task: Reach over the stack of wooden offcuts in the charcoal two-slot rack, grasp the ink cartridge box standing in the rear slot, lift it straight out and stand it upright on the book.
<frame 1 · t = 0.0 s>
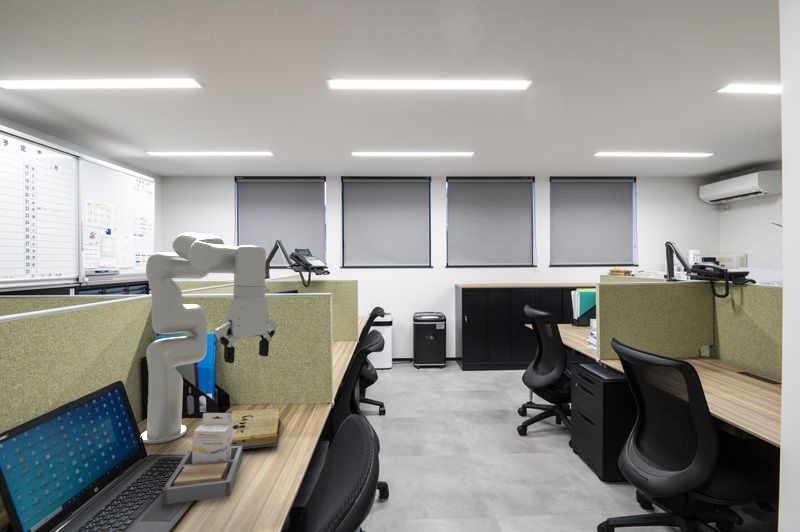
hand: (247, 358, 93), 31 cm above the table, tool pointing down, fingers open, 9 cm apart
rack: (206, 481, 92), on the table
ink cartridge box: (211, 471, 97), on the table
offcut bottom: (202, 493, 88), on the table, touching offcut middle
offcut top: (202, 479, 88), point 3 cm above the table, touching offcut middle
book: (252, 439, 117), on the table
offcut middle: (202, 486, 88), point 1 cm above the table, touching offcut bottom, offcut top
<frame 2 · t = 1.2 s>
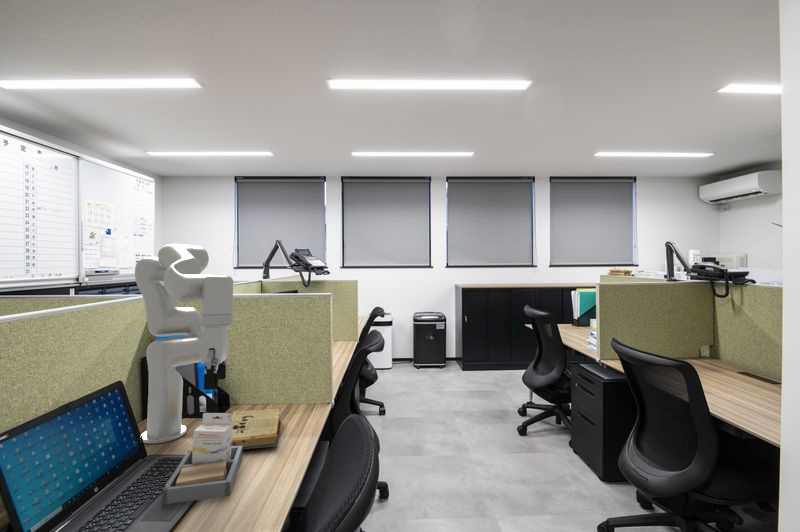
hand: (215, 383, 97), 23 cm above the table, tool pointing down, fingers open, 9 cm apart
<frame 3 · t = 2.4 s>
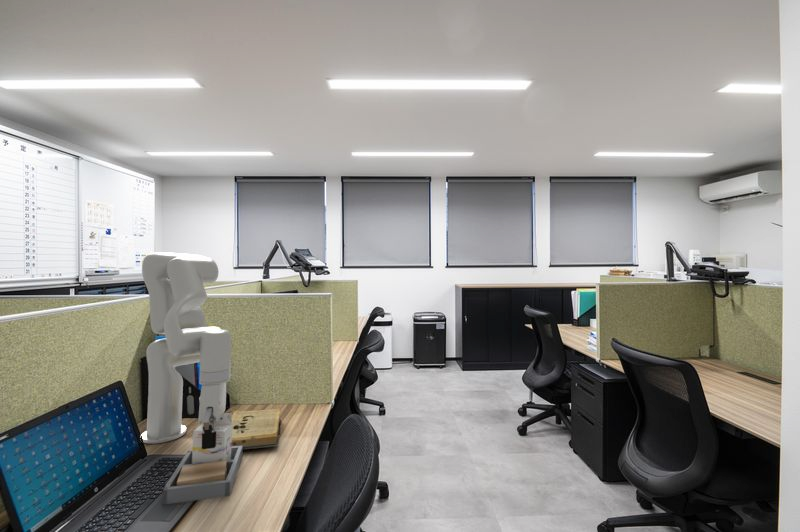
hand: (213, 440, 97), 8 cm above the table, tool pointing down, fingers open, 9 cm apart
nothing on the table moved.
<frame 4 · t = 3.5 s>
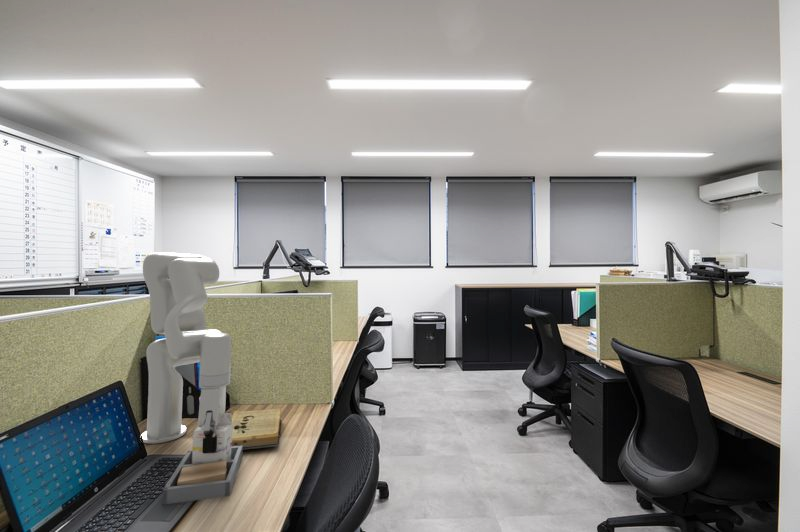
hand: (212, 446, 97), 7 cm above the table, tool pointing down, fingers closed on ink cartridge box, 5 cm apart
ink cartridge box: (211, 471, 97), on the table, touching gripper
everything else where it was.
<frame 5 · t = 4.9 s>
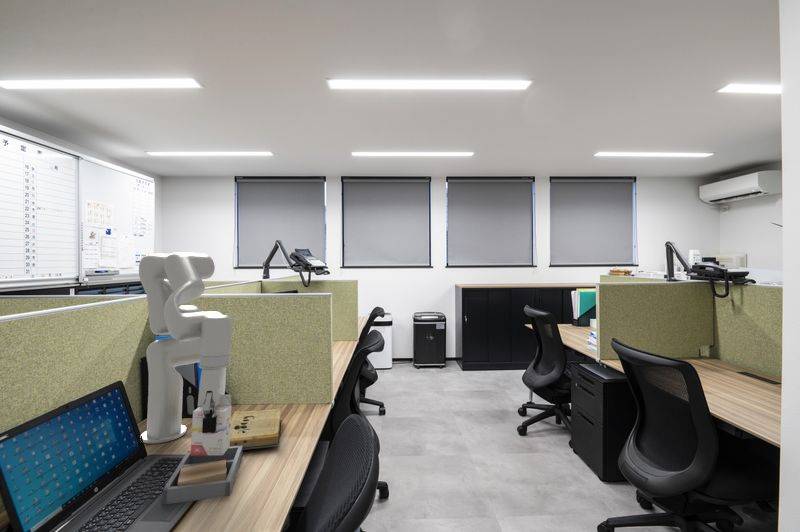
hand: (211, 426, 97), 12 cm above the table, tool pointing down, fingers closed on ink cartridge box, 5 cm apart
ink cartridge box: (210, 452, 97), point 5 cm above the table, touching gripper
offcut top: (202, 477, 88), point 3 cm above the table
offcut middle: (202, 485, 88), point 1 cm above the table, touching offcut bottom
everything else where it was.
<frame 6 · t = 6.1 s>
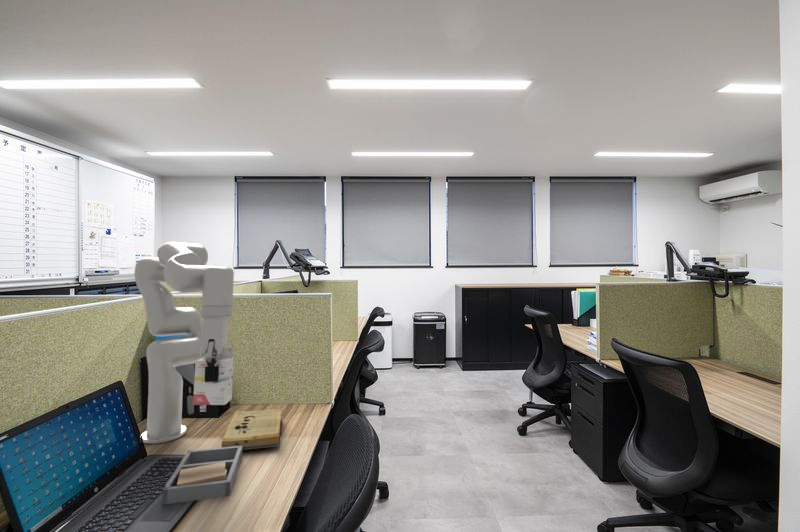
hand: (214, 377, 98), 25 cm above the table, tool pointing down, fingers closed on ink cartridge box, 5 cm apart
ink cartridge box: (212, 403, 97), point 18 cm above the table, touching gripper
offcut top: (202, 479, 88), point 3 cm above the table, touching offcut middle
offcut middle: (203, 487, 88), point 1 cm above the table, touching offcut bottom, offcut top
everything else where it was.
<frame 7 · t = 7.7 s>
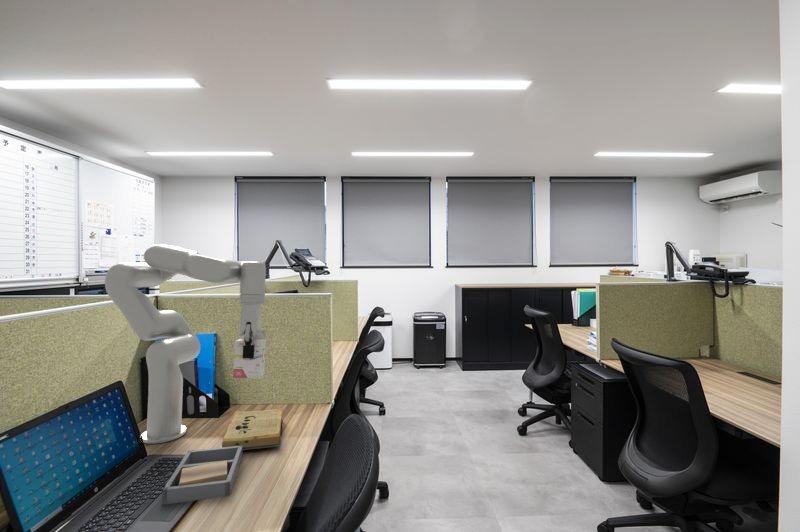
hand: (250, 355, 115), 27 cm above the table, tool pointing down, fingers closed on ink cartridge box, 5 cm apart
ink cartridge box: (249, 377, 114), point 20 cm above the table, touching gripper
when the fingers open (14 cm above the table, at t = 11.4 s): ink cartridge box drops 2 cm, resting on book.
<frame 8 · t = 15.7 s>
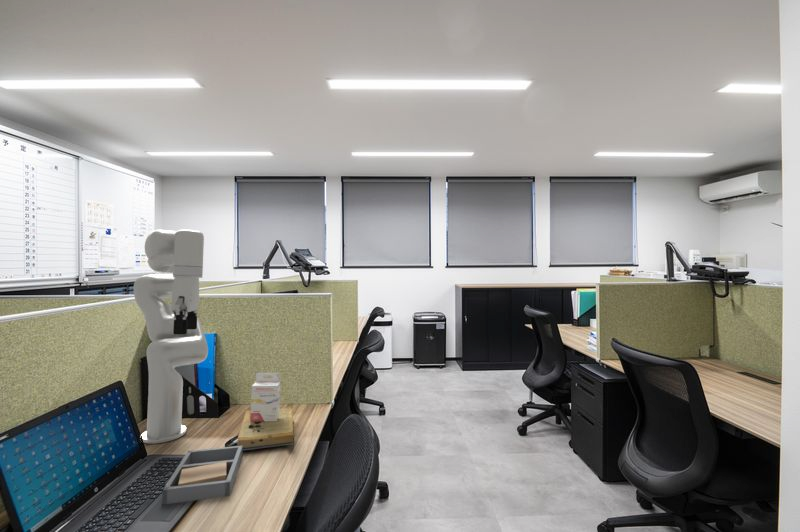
hand: (185, 331, 104), 36 cm above the table, tool pointing down, fingers open, 9 cm apart
ink cartridge box: (265, 419, 118), point 5 cm above the table, touching book
book: (267, 438, 118), on the table, touching ink cartridge box
everything else where it was.
at the end: ink cartridge box inside the target area on the book (1.1 cm from its centre), point 6.0 cm above the book's base; ink cartridge box tilted 0°; the gripper is holding nothing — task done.
